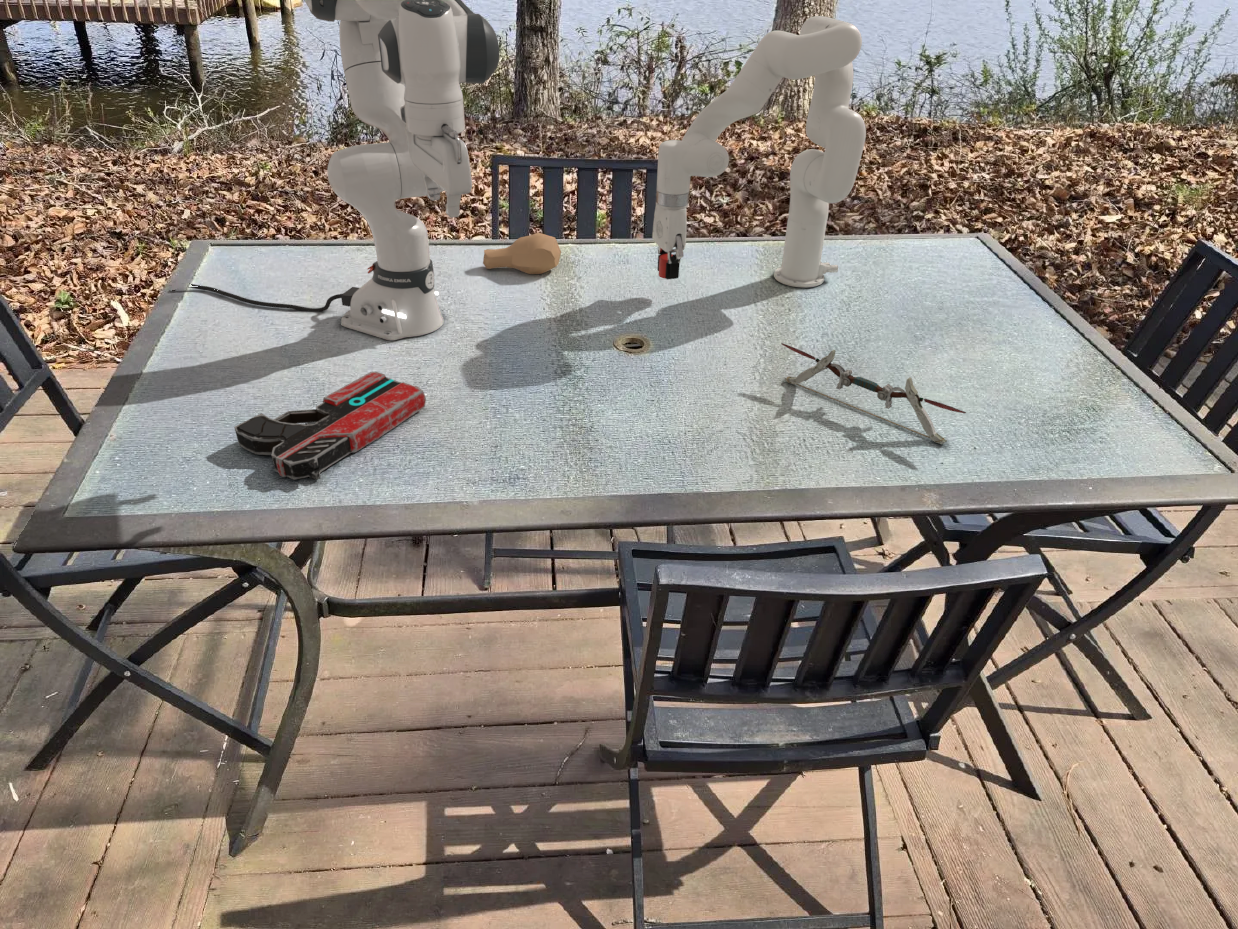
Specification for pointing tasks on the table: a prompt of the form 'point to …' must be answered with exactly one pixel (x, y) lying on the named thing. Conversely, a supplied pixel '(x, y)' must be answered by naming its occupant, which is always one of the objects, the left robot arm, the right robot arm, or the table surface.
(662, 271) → the canister
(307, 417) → the gun
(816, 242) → the right robot arm
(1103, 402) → the table surface
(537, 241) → the squash
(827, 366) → the bow
